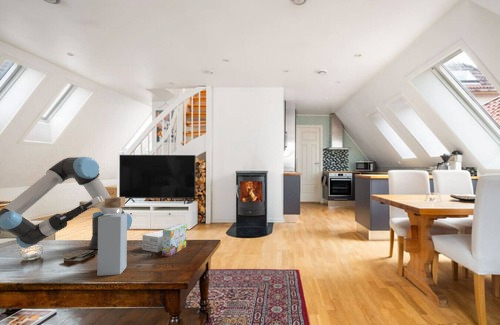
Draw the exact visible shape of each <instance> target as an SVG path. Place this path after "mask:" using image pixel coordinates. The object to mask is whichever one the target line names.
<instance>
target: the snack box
mask: <svg viewBox="0 0 500 325" xmlns="http://www.w3.org/2000/svg"><path fill="white" fill-rule="evenodd" d="M162 230H163V241H162V251H161V253H162V254H161V256H162V257H168V258H169V257H172V256H174V255H175V254H176V253H178V252H180V251H181V250H183V249H185V248H186V247H187V223H177V224H175V225H172V226H170V227H168V228H165V229H162Z"/></svg>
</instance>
